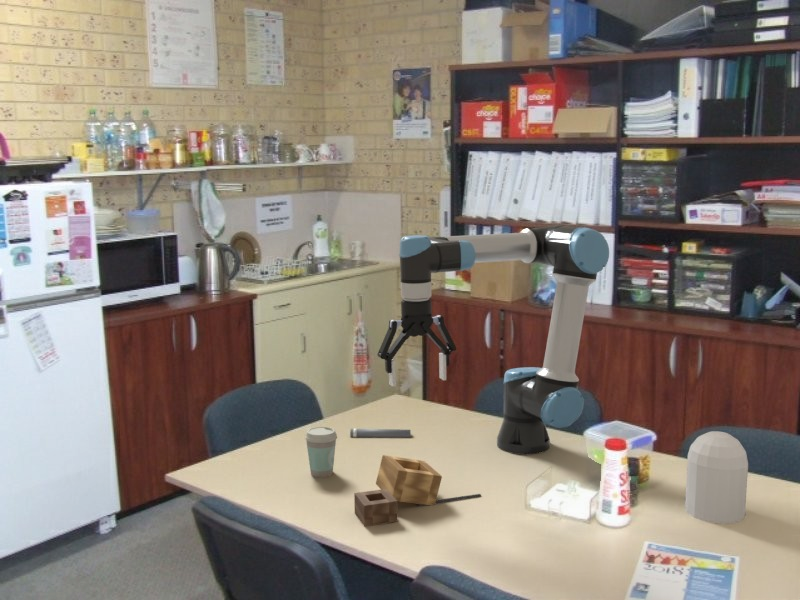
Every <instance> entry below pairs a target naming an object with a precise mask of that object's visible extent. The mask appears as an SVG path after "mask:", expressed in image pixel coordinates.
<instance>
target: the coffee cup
mask: <svg viewBox="0 0 800 600" xmlns="http://www.w3.org/2000/svg"><path fill="white" fill-rule="evenodd" d="M304 439H305V441H306V448H307V454H308V461H309V469H310V471H309V472H310V475H311V476H312V477H315V478H326V477H330V476H331V475H333V473H334V466H335V453H336V445H337V439H338V435H337V431H336V429H334V428H333V427H330V426H315V427H311V428H309V429H307V431H306V433H305V437H304Z"/></svg>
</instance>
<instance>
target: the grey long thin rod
mask: <svg viewBox="0 0 800 600" xmlns="http://www.w3.org/2000/svg"><path fill="white" fill-rule="evenodd" d="M480 497H482V494H481V493H477V494H476V493H475V494H469V495H464V496H455V497H448V498H441V499H436V503H435V504H440V503H441V504H443V503H446V502H454V501H461V500H467V499H473V498H480ZM417 506H418V507H422V506H426V505H425V504H417Z"/></svg>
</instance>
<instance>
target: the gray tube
mask: <svg viewBox="0 0 800 600" xmlns="http://www.w3.org/2000/svg"><path fill="white" fill-rule="evenodd" d="M411 433H412V432H411V429H401V428H400V429H394V428H393V429H392V428H391V429H387V428H385V429H384V428H350V431H349V436H350V438H409V439H410V438H411Z"/></svg>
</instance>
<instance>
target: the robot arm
mask: <svg viewBox="0 0 800 600" xmlns="http://www.w3.org/2000/svg"><path fill="white" fill-rule="evenodd" d="M399 243H400V244H399V254H398V256H399V260H400V261H399V267H400V269H399V270H400V271H399V272H400V298H402V299H401V300H400V308H401V309H400V313H401V317H400V320H395V319H392V318H391V319H389V321H388V328H387V331H386V334H385V335H384V338H383V340H382V342H381V345H380V348H379V349H378V351H377V354H376V355H377V357H378V358H379V359H382V360H384V366H385V367H384V369H385V372H386V374H388V383H389V385H390V386H391V387H395V388H396V387H397V381H396V377H397V376H396V360H395V359H394V357H395V356H396V355H397V353H398V352H399V351H400V349H401V348H402V346H403V345H404V343H405V342H406V340H408V339H409V338H410V337H413V338H414V337H418V336H421V337H425V335H427V336H428V338H429V339H430V340H431V341H432V342H433V343H434V344H435V345H436V347H437V348H439V350H440V351H441V352H439V353H438V363H439V364H438V367H439V368H438V369H439V371H438V373H439V376H438V377H439V379H441V381H447V367H449V366H450V355H451V354H452V352H455V351H456V350H457V347H456V344H455V343H454V340H453V338H452V336H451V334H450V333H449V330H448V328H447V327H446V325H445V318H444V316H442V315H440V314H436V315H435V316H432V310H433V309H432V308H433V305H432V300H431V297H432V274H437V273H438V274H439V273H447V272H462V271H468V270H471V269H472V268H473V267H474V265H475V264H476V263H480V264H481V263H494V262H509V261H510V262H512V261H521V262H523V263H524V264H540V265H545V266H546V265H547V266H551V267H553V270H552V275H553V277H554V278H555V279H556V287H555V290H554V291H555V292H554V300H553V304H552V310H551V317H550V322H549V328H548V335H547V339H546V348H545V353H544V358H543V364H542V367H537V366H536V367H535V366H533V367H532V366H528V367H516V368H510V369H508V370H506V371H505V373H504V378H503V419H502V423H501V426H500V429H499V432H498V435H497V437H496V446H497V448H498V449H499V450H501V451H504V452H507V453H511V454H515V455H516V454H517V455H537V454H542V453H545V452H546V451H548V450H549V449H550V447H551V446H550V442H551V440H550V437H549V434H548V430H547V426H552V427H555V428H557V429H558V428H560V429H562V428H563V429H564V428H568V427H569V426H571V425H573V423H575V422H576V421H577V420H578V419H579V418H580V416H581V415H582V413H583V410H584V406H585V400H584V397H583V396H582V392H580V390H579V389H578V388H579V384H580V383H579V382H580V379H579V377H578V376H577V375H576V365H577V361H578V354H579V349H580V348H579V347H580V341H581V336H582V330H583V324H584V317H585V312H586V305H587V299H588V293H589V289H590V288H589V287H590V285H592V284H593V283H594V282H596V281H597V276H598V273H600V272H601V271H602V270H603V269H604V268H605V267H606V266H607V265H608V263H609V258H610V248H609V244H608V241H607V239H606V238H605V236H604V235H603V234H602V233H601V232H600V231H598V230H596V229H594V228H589V227H586V226H585V227H583V226H572V225H570V226H569V225H565V224H564V225H561V224H558V225H548V226H542V227H535V228H523V229H522V230H520V232H514V233H513V232H512V233H511V232H510V233H509V232H508V233H491V234H489V233H488V234H471V235H470V234H468V235H450V236H448V235H446V236H432V237H431V236H428V235H422V234H420V235H419V234H418V235H413V234H412V235H405V236H402V238H400V242H399ZM433 324H435V325H436V327H437V328H438V331H439V332H440V334H441V337H442V338H443V340H444V342H445V343H444V342H443V341H442V340H441V339H440V338H439V337H438V335H436V333H435V332H434V330H432V329H431V327H432V325H433ZM400 326H401V328H402V329H401V331H400V332H399V334H398V335H397V337H396V339H395V340H394V338H395V336H396V333H397V330H398V329H400ZM392 342H393V343H392ZM546 425H547V426H546Z"/></svg>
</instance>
